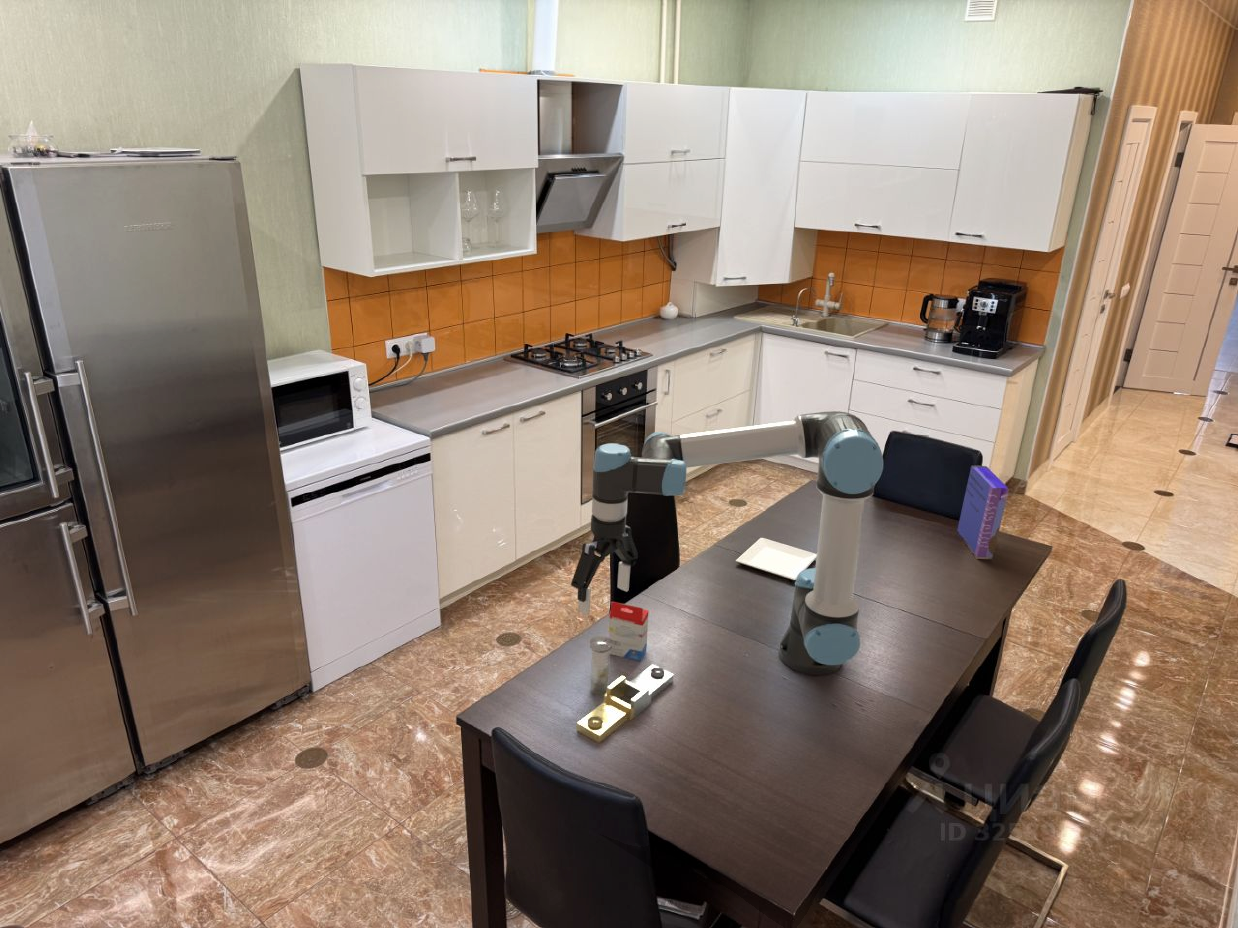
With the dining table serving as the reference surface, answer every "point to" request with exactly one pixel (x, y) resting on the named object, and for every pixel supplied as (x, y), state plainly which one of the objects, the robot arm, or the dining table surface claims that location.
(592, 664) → the pin
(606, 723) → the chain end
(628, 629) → the ink box
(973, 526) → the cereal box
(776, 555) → the plate
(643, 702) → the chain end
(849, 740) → the dining table surface
